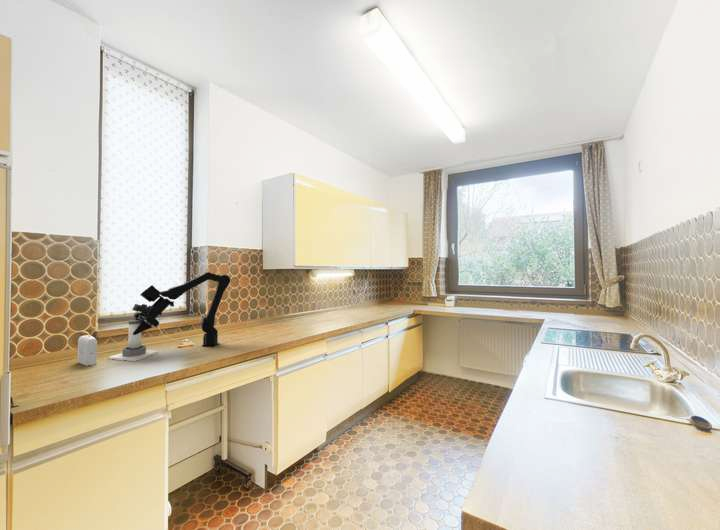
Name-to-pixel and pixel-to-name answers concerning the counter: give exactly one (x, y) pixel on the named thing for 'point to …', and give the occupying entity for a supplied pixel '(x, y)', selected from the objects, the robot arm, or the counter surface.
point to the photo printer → (87, 350)
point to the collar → (133, 354)
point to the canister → (134, 340)
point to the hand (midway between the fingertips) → (131, 333)
